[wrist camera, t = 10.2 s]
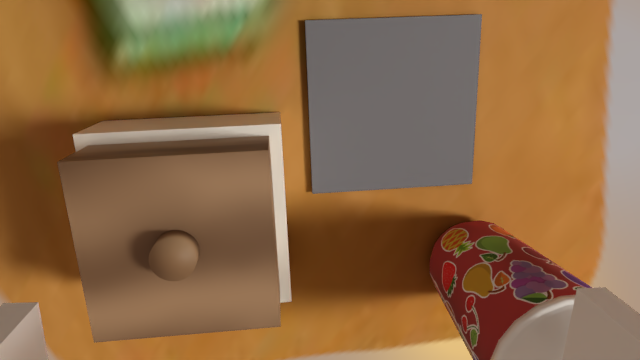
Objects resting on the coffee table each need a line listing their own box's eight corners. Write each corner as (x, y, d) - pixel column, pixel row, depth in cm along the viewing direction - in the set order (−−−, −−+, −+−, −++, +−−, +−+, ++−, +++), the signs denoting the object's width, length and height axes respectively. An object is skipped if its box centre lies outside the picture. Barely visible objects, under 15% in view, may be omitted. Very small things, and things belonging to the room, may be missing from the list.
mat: (304, 20, 31) (305, 20, 31) (479, 14, 32) (481, 14, 31) (312, 192, 34) (312, 193, 34) (469, 182, 35) (471, 183, 35)
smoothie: (432, 315, 38) (588, 586, 19) (399, 229, 36) (541, 441, 17) (527, 277, 38) (780, 512, 19) (501, 188, 36) (761, 355, 16)
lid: (88, 145, 27) (45, 168, 22) (269, 135, 28) (267, 155, 23) (117, 304, 30) (85, 356, 25) (280, 291, 31) (280, 339, 26)
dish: (103, 120, 32) (72, 134, 27) (280, 112, 32) (280, 123, 28) (130, 279, 35) (107, 316, 30) (289, 267, 36) (291, 301, 31)
